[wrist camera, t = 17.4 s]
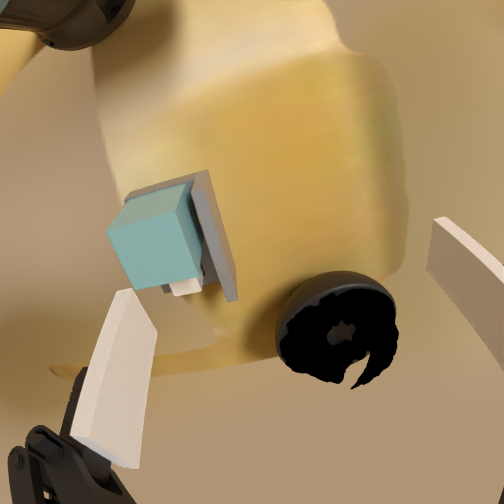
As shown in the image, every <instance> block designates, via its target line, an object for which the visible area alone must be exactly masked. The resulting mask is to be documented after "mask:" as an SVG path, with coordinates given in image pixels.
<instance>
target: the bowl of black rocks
mask: <svg viewBox="0 0 504 504" xmlns="http://www.w3.org/2000/svg"><path fill="white" fill-rule="evenodd" d="M395 318H396V306H395V302H394V299H393V297H392V296H391V294H390V293H389V292H388V291H387V290H386V289H385V288H384V287H383V286H382V285H381V284H380V283H378V282H377V281H375V280H374V279H372V278H370V277H368V276H366V275H363V274H360V273H356V272H351V271H333V272H328V273H324V274H321V275H318V276H316V277H313V278H311V279H310V280H308V281H306V282H305V283H303V284H302V285H301V286H300V287H298V288H297V289H296V290H295V291H294V292H293V293H292V295H291V296H290V297H289V298H288V300H287V301H286V303H285V304H284V306H283V308H282V310H281V313H280V315H279V318H278V321H277V326H276V333H275V343H276V350H277V353H278V355H279V357H280V358H281V360H282V361H283V362H284V363H285V364H286V365H287V366H288V367H290V368H291V369H292V371H294V372H297V373H307V374H309V375H311V376H313V377H316V378H317V379H319V380H322V381H324V382H333V383H336V384H339V383H341V382H342V381H343V379H344V373H345V372H346V369H347V368H348V367H349V366H350V365H351V364H353V363H355V362H358V361H360V360H362V359H363V358H365V357H366V356H367V355H369V354H370V357H369V360H368V363H367V366H366V368H365V369H364V372H363V373H362V374H361V376H360V377H359V378H358V380H357V382H356V383H355V385H354V386H352V388H351V389H354V388H356V387H358V386H360V385H361V384H362V385H365V384H367V383H369V382H370V381H371V380H372V379H373V378H374V377H376V376H379V375H380V373H381V372H382V371H383V370H384V369H386V368H388V367H389V366H390V364H391V362H392V360H393V356H394V355H395V353H396V350H397V340H398V336H399V332H398V329H397V327H396V325H395Z"/></svg>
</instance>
